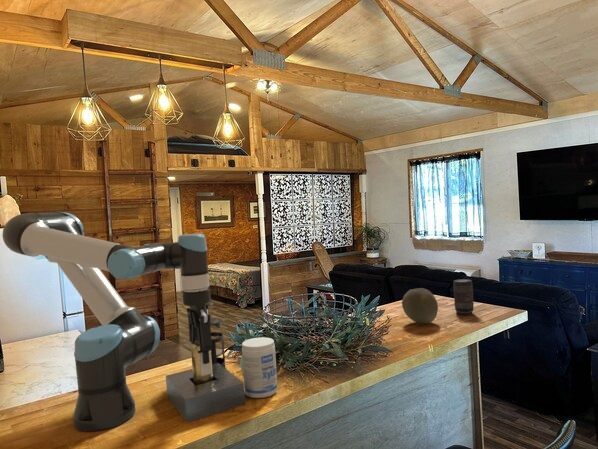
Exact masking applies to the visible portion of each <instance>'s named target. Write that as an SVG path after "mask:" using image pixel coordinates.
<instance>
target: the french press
mask: <svg viewBox="0 0 598 449" xmlns="http://www.w3.org/2000/svg"><path fill="white" fill-rule="evenodd" d="M213 305H214V303H213V302H211V301H210V302H209V303H206V304H205V309H206V310H207V314H209V309H210V308H209V306H213ZM222 322H223V318H222V319H221V318H218V317H210V327H211V326H215V327H216V328H218V329H221V327H222ZM211 337H216V338H211V340H212V350H211V359H212V364H214V363H219V364H220V365H222V366H223V367H224V368H226V369H227V367H226V358H225V357H226V356H225V344H224V334H223V333H222V332H218V331H213V332H212V331H211ZM219 342H221V347H222V348H217V346H216V344H217V343H219ZM220 356H222V357H220Z"/></svg>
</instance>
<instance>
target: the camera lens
mask: <svg viewBox="0 0 598 449" xmlns="http://www.w3.org/2000/svg"><path fill="white" fill-rule="evenodd" d="M452 284H453V285H452V286H453V296H454V310H455V311H456V312H455V314H456V315H459V316H465V317H466V316H467V317H469V316H471V315H473V311H474V307H475V306H474V289H473V287H474V285H473V282H472V279H463V278H462V279H455V280H453V283H452Z"/></svg>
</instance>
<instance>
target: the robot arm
mask: <svg viewBox="0 0 598 449" xmlns="http://www.w3.org/2000/svg"><path fill="white" fill-rule="evenodd" d="M84 230H85V229H84V226H83V223H82V222H81V220H80V219H79V218H78V217H77V216H75V215H74V214H72V213H69V212H63V211H51V212H33V213H32V212H27V213H21V214H17V215H15V216H13V217H12V218H10V219H9V220H8V221H7V222H6V223H5V224H4V227H3V229H2V235H1V236H2V240H3V243H4V244H5V246H6V247H7V248H8V249H9V250H10V251H12V252H14V253H15V254H19V255H23V256H27V257H32V258H36V257H39V256H43V257H45V259H46V260H47V262H50V263H55V264H57V266H58V267H59V268H60V270H61V271H62V273H63V274H64V275H65V276H66V278H67V279H68V280H69V281H70V283H71V285H73V287H74V289H75V290H76V291H77V292H78V294H79V295H80V297H81V298H82V300H83V301H84V302H85V303H86V305H87V306H88V308H89V310H90V311H91V312H92V313H93V315H94V316H95V317H96V318H97V320H98V321H99V323H100V324H101V325H99V326H97V327H92V328H89V329H87V330H84V331H83V332H81V333H80V334H79V335H78V336H77V337H76V339H75V340H74V350H73V351H74V353H73V355H74V361H75V371H76V381H77V390H78V391H77V392H78V393H77V394H78V395H77V400H76V403H75V408H74V411H73V415H72V422H73V428H74V429H76V431H79V432H87V433H88V432H98V431H99V432H100V431H103V430H108V429H111V428H115V427H117V426H119V425H121V424H124V423H125V422H127V421H129V420H130V419H131V418H133V417H134V416H135V414H136V410H137V409H136V402H135V399H134V397H133V395H132V392H131V391H130V388H129V386H128V384H127V377H126V376H127V375H126V368H127V367H130V366H132V365H133V364H135V363H136V362H138V361H140V360H142V359H145V358H147V357H148V356H149V355H150V354H152V352H154V351H155V350H156V349H157V347H158V346H159V343H160V340H161V339H160V337H161V329H160V327H159V324H158V323H157V321H156V320H155V319H154V318H153V317H152V316H147V315H144V314H143V315H141V312H140V311H139V310H138V309H137V308H136V307H135V306H134V307H133V306H128V305H127V303H126V302H125V301H124V300H123V298H122V297H121V295H120V294H119V293H118V291H117V290H116V289H115V287H114V286H113V285H112V284H111V282H110V280H109V279H108V278H107V277H106V275H105V274H104V272H103V271H106V272H109V273H110V275H112V276H113V277H114V278H115V279H117V280H131V279H135V278H137V277H141V276H144V275H147V274H151V273H154V272H158V271H162V270H175V269H178V270H179V269H180V280H181V290H183V291H182V303H183V305H184V306H189V307H187V308H186V313H187V321H188V322H187V323H188V324H187V325H188V336H189V339H188V340H189V342H190V345H191V344H192V343H195V340H196V339H199V345H200V351H198V353H199V358H200V370H201V376H204V375H207V374H211V364H210V350H212V336H211V332H212V329H211V326H210V318H211V314H209V313H208V314H207V309H206V307H205V304H206V303H209V302H210V303H211V300H212V298H211V296H212V295H211V289H210V288H209V287H210V286H211V285H210V279H211V275H209V264H208V260H209V259H208V246H207V240H206V235H204V234H203V233H191V234H190V233H189V234H181V235H178V238H177V241H174V242H151V243H145V244H142V245H140V246H130V245H127V244H126V245H125V244H121V243H117V242H112V241H108V240H104V239H103V240H102V239H99V238H94V237H91V236H87V235H86V236H85V232H84Z"/></svg>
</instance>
